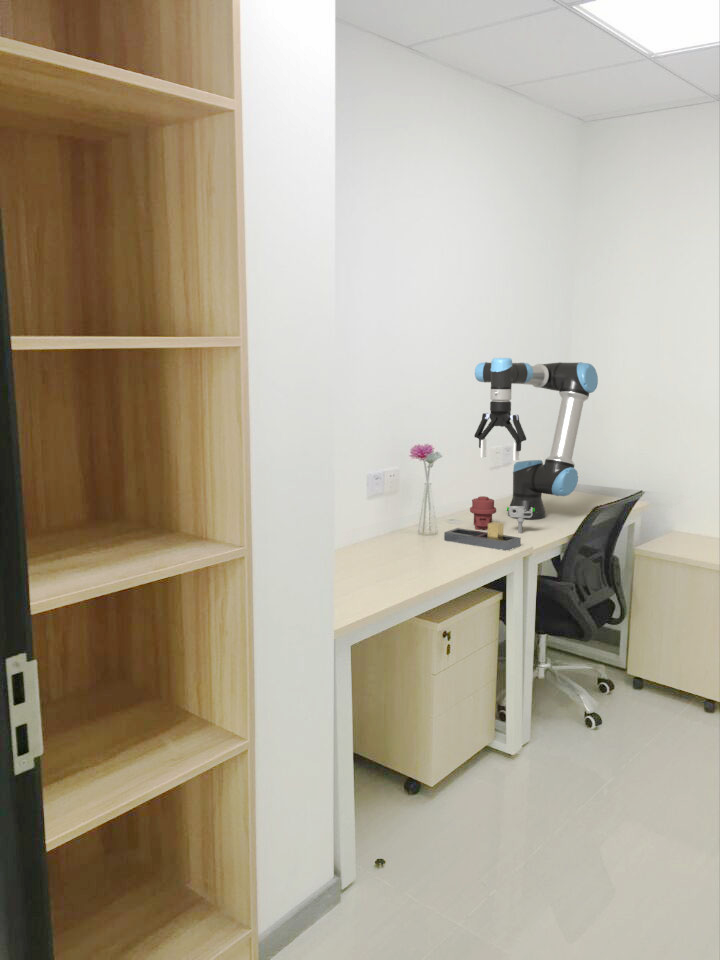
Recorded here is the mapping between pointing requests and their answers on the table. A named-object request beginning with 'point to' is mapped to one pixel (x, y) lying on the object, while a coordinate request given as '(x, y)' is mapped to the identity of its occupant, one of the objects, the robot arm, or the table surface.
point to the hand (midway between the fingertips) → (499, 458)
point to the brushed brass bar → (495, 530)
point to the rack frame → (481, 539)
